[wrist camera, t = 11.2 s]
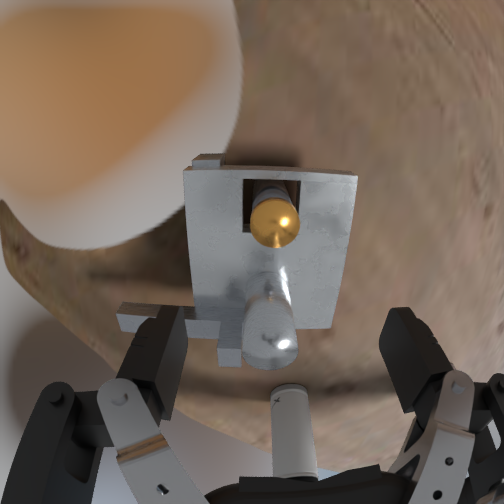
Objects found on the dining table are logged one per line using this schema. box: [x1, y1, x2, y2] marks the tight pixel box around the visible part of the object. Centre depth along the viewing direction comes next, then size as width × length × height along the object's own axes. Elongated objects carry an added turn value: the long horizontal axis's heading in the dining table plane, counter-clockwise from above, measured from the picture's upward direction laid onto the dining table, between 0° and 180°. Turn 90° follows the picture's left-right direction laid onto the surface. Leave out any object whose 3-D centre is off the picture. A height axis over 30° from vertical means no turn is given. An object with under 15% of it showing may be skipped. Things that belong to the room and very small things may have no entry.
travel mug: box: [270, 384, 318, 482], centre depth 35 cm, size 6×7×20 cm
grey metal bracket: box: [116, 154, 358, 370], centre depth 24 cm, size 22×16×14 cm
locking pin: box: [250, 179, 300, 248], centre depth 24 cm, size 3×3×10 cm
